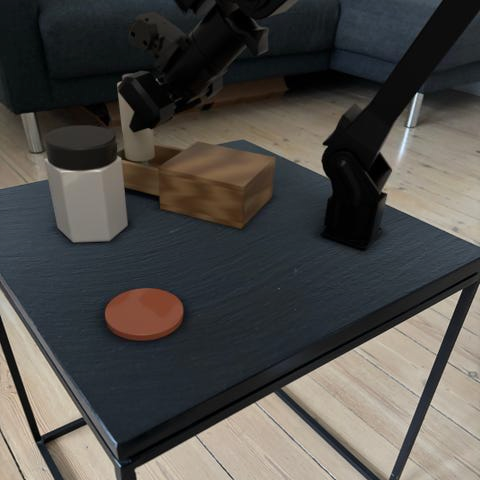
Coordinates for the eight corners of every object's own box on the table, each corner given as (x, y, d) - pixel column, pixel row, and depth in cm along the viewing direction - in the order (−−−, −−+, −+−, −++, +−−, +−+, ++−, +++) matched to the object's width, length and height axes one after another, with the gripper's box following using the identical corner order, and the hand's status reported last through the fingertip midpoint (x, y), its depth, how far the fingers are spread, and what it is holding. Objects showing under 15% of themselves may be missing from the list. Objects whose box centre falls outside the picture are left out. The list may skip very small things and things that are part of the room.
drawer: (94, 184, 76) (90, 155, 73) (133, 161, 84) (131, 134, 81) (169, 203, 72) (168, 173, 70) (203, 177, 80) (203, 149, 77)
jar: (138, 232, 67) (130, 141, 60) (79, 251, 63) (63, 155, 56) (105, 207, 73) (94, 119, 65) (49, 222, 68) (31, 131, 61)
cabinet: (159, 208, 73) (157, 167, 69) (197, 179, 81) (197, 141, 78) (241, 229, 69) (243, 186, 66) (272, 196, 78) (275, 157, 74)
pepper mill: (160, 154, 77) (155, 75, 70) (142, 163, 74) (135, 82, 67) (137, 148, 79) (130, 70, 72) (118, 157, 76) (109, 76, 69)
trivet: (199, 311, 55) (198, 305, 54) (148, 352, 49) (147, 345, 49) (142, 285, 58) (141, 279, 57) (88, 320, 53) (87, 314, 52)
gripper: (203, -17, 68) (138, 63, 78) (123, -4, 55) (57, 91, 65) (255, 56, 71) (186, 124, 81) (190, 86, 57) (117, 164, 67)
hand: (140, 124), depth 73 cm, fingers closed on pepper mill, 4 cm apart
